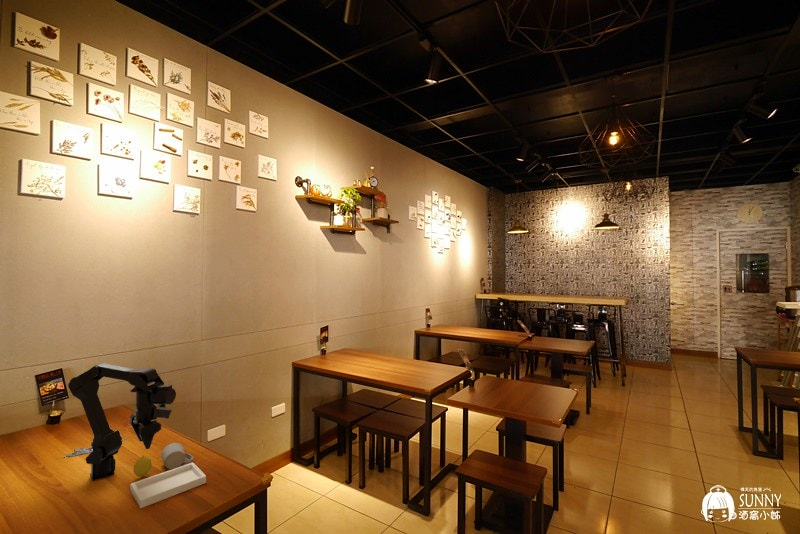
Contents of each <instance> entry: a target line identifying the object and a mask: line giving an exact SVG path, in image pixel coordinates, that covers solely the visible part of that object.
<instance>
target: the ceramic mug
mask: <svg viewBox="0 0 800 534" xmlns="http://www.w3.org/2000/svg"><path fill="white" fill-rule="evenodd" d="M161 460H162V462H163V466H165V468H166V469H168V470H172V469H175V468H178V467H181V466H183V465H184V464H189V463H192V462H193V460H194V456H193V455H192V454H190V453H187V452H185V449H184V447H183V444H181V443H179V442H173V443H170V444H169V443H168V444H167V445H166V446H165V447H164V449H162V451H161Z"/></svg>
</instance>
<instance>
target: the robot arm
mask: <svg viewBox="0 0 800 534" xmlns="http://www.w3.org/2000/svg"><path fill="white" fill-rule="evenodd" d="M103 378H108V379H113V380H120V381H125V382H128V384H129V385H131V386H133V388H132V389H131V390H130V392H131V393H135V406H134V410H135V413H132V414H131V415H130V416H129V421H128V422H129V423H130V425H131V426H132V427H133V429H134V433H135V435H136V437H137V439H138V441H139V443H141V442H142V444H143V446H144V448H145V450H149V449H150V448H151V445H152V444H153V439H154V436H155V435H156V434H157V433H158V432H160V431H161V430H162V424H161V423H160V421H158V420H157V419H158V418H162V419H166V420H167V419H170V416H171V414H172V412H173V410H172V408H170V407H168V406H166V405H172V404H173V403H174V401H175V399H176V397H177V392H176V390H175V388H173V385H172V384H166V385H165V382H164V381H163V379H162V377H160V375H159V374H158V371H157V370H156V369H155V368H153V367H152V368H151V367H143V368H131V367H124V366H119V365H114V364H109V363H106V362H104V363H103V362H102V363H99V364H95V365H94V366H92V367H91V368H89V369H88V370H87V371H84V372H83V373H80V375H78V376H75V377H72V378H71V379H70V380H69V383H68V384H67V386H68V389H69V391H70V393H71V394H72V396H73V397H74V398H76V399H78V400H79V401H80V403H81V405H82V408H83V410H84V413H85V415H86V418H87V421H88V424H89V425H90V428H91V429H92V432H93V434H94V438H93V442H92V449H93V451H92V452H91V453H88V454H87V456H86V457H85V461H86V464H89V465H90V467H91V468H90V473H89V476H90V479H91V481H92V482H94V481H98V480H102V479H104V478H107V477H110V476H113V475H115V471H116V459H115V457H114V455H117V454H118V453H119V450H120V449H121V448H122V446H123V441H122V437H121V436H120V432H119V430H117V431H113V430H112V429H110V427H109V425H110V424H109V421H108V419H107V415H106V413H105V411H104V408H103V405H102V403H101V401H100V397H99V395H98V393H99V387H100V380H102V379H103Z"/></svg>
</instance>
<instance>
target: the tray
mask: <svg viewBox="0 0 800 534" xmlns="http://www.w3.org/2000/svg"><path fill="white" fill-rule="evenodd" d="M206 483H207V475H206V474H205V472H203V471H202V470H201V469H200V468H199V467H198V466H197V465H196V464H195V463H194V462H193V461H192V462H191V463H186V464H183V465H181V466H180V467H178V468H175V469H168V470H167V471H164V472H161V473H158V474H155V475H151V476H148V477H147V478H142V479H139V480H137V481H135V482H131V483H130V493H131V495H132V496H133V498H134V500H135V502H136V503H137V505H138V508H139V509H142V508H146V507H147V506H151V505H152V504H155V503H157V502H160V501H162V500H163V501H164V500H165V499H169V498H171V497H173V496H175V495H178V494H182V493H183V492H186V491H189V490H191V489H194V488H196V487H199V486H201V485H203V484H206Z"/></svg>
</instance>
